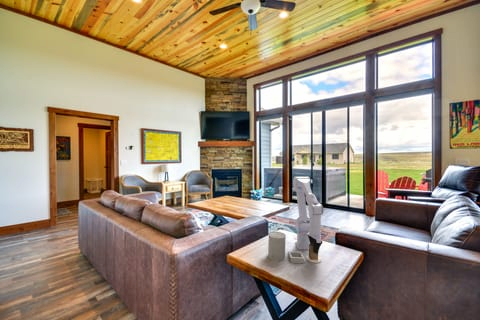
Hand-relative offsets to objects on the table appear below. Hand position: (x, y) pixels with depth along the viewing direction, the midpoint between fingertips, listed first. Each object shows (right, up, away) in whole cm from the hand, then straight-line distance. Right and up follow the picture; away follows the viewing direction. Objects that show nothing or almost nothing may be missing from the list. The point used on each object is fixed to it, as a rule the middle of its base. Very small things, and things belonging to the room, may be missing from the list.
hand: (314, 250), depth 116 cm
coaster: (0, -5, 0) cm, 5 cm away
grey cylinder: (-20, -5, +3) cm, 21 cm away
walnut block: (0, -4, 0) cm, 4 cm away
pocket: (-10, -5, 0) cm, 11 cm away
